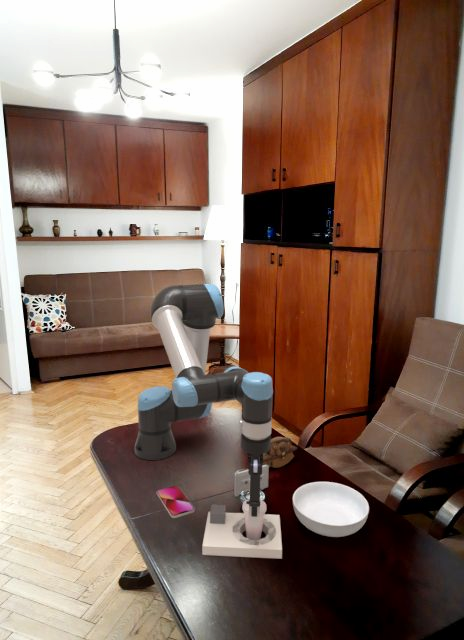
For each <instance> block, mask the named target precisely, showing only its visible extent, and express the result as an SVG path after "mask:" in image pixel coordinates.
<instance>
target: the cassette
mask: <svg viewBox="0 0 464 640" xmlns="http://www.w3.org/2000/svg"><path fill="white" fill-rule="evenodd" d="M269 468H270V467H269V466H268V465H267V464H266V465H263V466H262V475H261V476H260V491H263V490H264V489H266V488H269V470H270V469H269ZM233 478H234V485H233V486H234V487H233V488H234V489H233V490H234V492H233V493H234V497H240V496H239V494H240V493H241V492H242V491H247V490H250V475H249V474H248V469H245V470H241V471H238V472H235V473H234V477H233Z"/></svg>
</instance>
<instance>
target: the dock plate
mask: <svg viewBox="0 0 464 640" xmlns="http://www.w3.org/2000/svg"><path fill="white" fill-rule="evenodd" d="M226 507H227V505H225V504H211V505H210V511H208V513H207V518H206V523H205V529H204V534H203V541H202V547H201V548H202V551H201V552H202V553H201V555H202V556H218V557H219V556H220V557H237V558H238V557H239V558H240V557H241V558H260V559H281V560H282V559H283V543H282V530H281V517H280V514H269V513H267V514H266V513H265V514H264V520H263V526H262V532H263V533H264V534H265V536H264V537H262V538H260V539H259V540H250V539H248V538H247V537H245V536H244V535H243V533H244V532H246V526H245V518H244V512H227V508H226Z"/></svg>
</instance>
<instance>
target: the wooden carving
mask: <svg viewBox="0 0 464 640" xmlns="http://www.w3.org/2000/svg"><path fill="white" fill-rule="evenodd" d="M297 450H298V447H297V446H295V445H292V440H291V438H289V437H288V436H285V437H283V436H276V437H273V438H271V447H270V450H269V451H268V452H266V453H263V465H266V464H267V465H268V466H269V468H271V467H272V468H281V467H284V466H285V465H287V464H289V463H290V462H291V460H293V458H295V455H294V453H293V452H295V451H297ZM263 465H262V466H263Z"/></svg>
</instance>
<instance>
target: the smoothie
mask: <svg viewBox="0 0 464 640" xmlns="http://www.w3.org/2000/svg"><path fill="white" fill-rule="evenodd" d="M249 500H250V498H247V499H246V500H244V501H243V502H242V508H241V509H242V511H243V513H244V518H245V526H246V531H245V534H246V538H248V539H250V540H259V539H262V538H261V537H262V532H263V531H262V526H263V520H264V514H266V512H267V504H266V502H265V501H264V500H262V499H260V519H259V526H248V521H249V504H246V501H249Z"/></svg>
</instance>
